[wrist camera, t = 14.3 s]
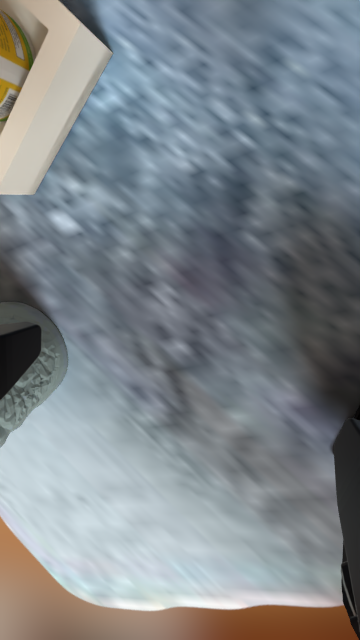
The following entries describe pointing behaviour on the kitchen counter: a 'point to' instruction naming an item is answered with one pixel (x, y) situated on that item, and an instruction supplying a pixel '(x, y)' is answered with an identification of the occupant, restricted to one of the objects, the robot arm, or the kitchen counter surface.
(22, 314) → the grey green cup
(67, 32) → the cream square tray
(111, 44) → the kitchen counter surface
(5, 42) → the supplement bottle
